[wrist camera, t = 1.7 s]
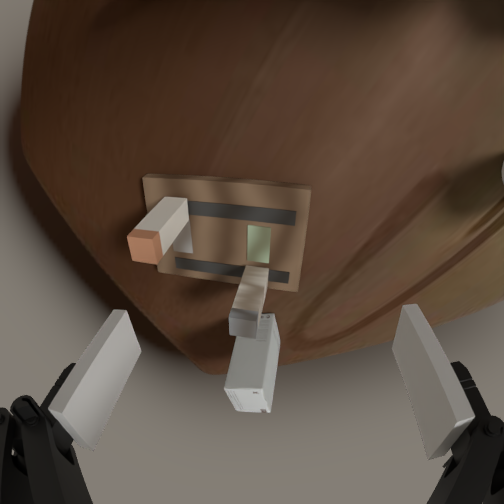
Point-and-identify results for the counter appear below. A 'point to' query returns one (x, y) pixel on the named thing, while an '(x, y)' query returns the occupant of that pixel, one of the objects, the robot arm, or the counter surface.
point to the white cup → (503, 172)
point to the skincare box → (254, 368)
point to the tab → (158, 230)
